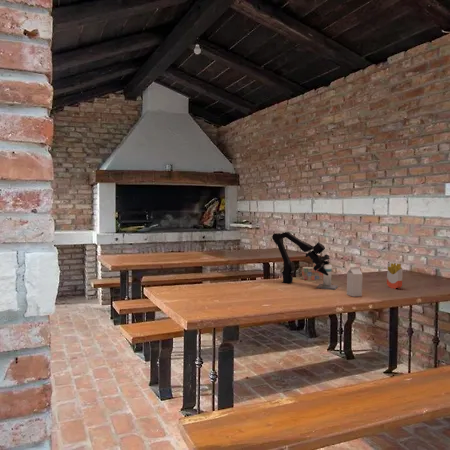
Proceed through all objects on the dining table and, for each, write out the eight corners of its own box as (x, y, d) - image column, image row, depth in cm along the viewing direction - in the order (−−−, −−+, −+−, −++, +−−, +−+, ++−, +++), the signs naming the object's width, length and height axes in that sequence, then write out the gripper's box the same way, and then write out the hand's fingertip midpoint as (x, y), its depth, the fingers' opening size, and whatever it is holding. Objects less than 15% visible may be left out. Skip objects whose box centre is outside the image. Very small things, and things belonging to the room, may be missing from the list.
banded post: (324, 284, 303) (324, 265, 302) (322, 283, 308) (322, 264, 308) (332, 284, 303) (332, 265, 302) (330, 283, 308) (330, 264, 308)
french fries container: (396, 289, 301) (397, 264, 300) (386, 286, 311) (387, 262, 310) (401, 289, 302) (402, 264, 301) (391, 286, 313) (392, 262, 312)
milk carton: (361, 296, 279) (362, 267, 278) (352, 296, 277) (353, 268, 276) (355, 293, 286) (356, 266, 285) (346, 294, 284) (347, 266, 283)
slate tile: (316, 288, 303) (316, 286, 303) (319, 285, 313) (319, 283, 313) (335, 289, 298) (335, 288, 298) (337, 287, 308) (337, 285, 308)
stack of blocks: (303, 279, 335) (303, 264, 334) (301, 278, 341) (302, 263, 340) (330, 280, 336) (330, 264, 335) (328, 278, 342) (328, 263, 341)
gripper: (318, 252, 299) (332, 269, 293) (327, 249, 314) (341, 265, 309) (307, 262, 303) (321, 279, 298) (317, 259, 319) (330, 275, 314)
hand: (329, 274), depth 304 cm, fingers closed on banded post, 6 cm apart
